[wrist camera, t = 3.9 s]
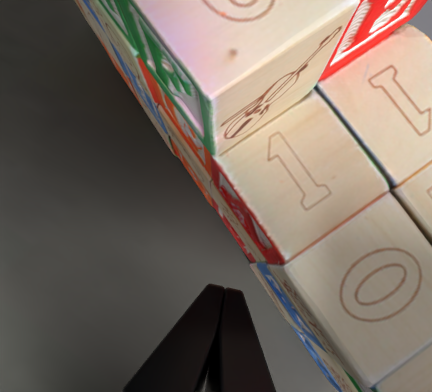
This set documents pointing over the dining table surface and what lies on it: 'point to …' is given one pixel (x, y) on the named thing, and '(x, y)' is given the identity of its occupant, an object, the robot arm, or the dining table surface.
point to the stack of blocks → (304, 158)
